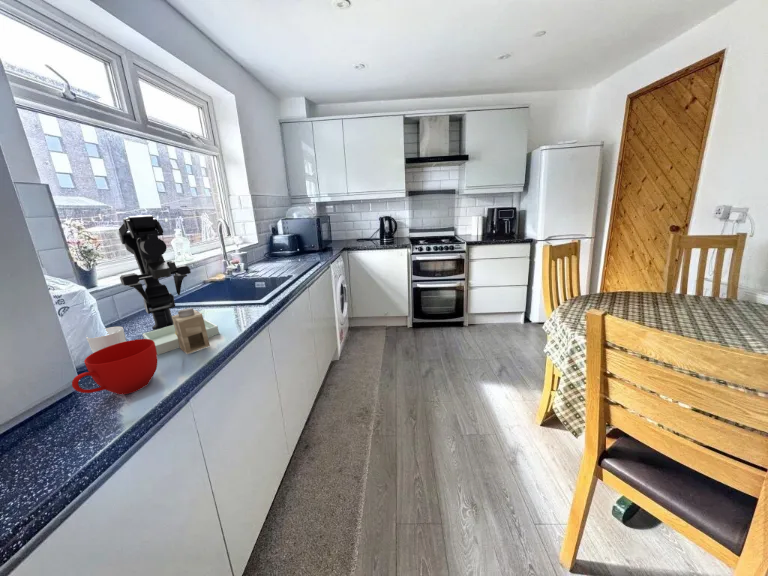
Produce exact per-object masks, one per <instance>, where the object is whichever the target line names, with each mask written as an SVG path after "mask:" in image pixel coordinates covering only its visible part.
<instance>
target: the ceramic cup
mask: <svg viewBox="0 0 768 576" xmlns="http://www.w3.org/2000/svg"><path fill="white" fill-rule="evenodd" d="M84 364H85V368H86V369H87V371H86V372H82V373H80V374H78V375H76V376H75V377H74V378H73V379H72V381H71V386H72V388H73V389H74V390H75V391H77V392H78V393H81V394H90V393H98V392H101V391H104V390H106V391H108V392H110V393H113V394H116V395H118V396H119V395H123V396H124V395H129V394H132V393H134V392H138V391H139V390H142V389H143V388H145V387H146V386H148V385H149V383H150V381H151V380H152V379H153V377H154V375H155V372H156V370H157V368H158V355H157V352H156V346H155V343H154V341H153V340H150V339H144V338H140V339H139V338H138V339H132V340H126V342H122V343H118V344H115V345H111V346H108V347H106V348H103V349H101V350H99V351H96V352H94V353H93V352H92V353H90V354H89V355H88V356H87V357H86V358H85V359H84ZM86 376H89V377H91V378H92V380H93V381H94V382H95V384H97V385H98V386H99V387H95V388H91V389H90V388H89V389H85V388H82V387H80V385H79V383H80V382H79V381H80V380H81V379H82V378H85V377H86Z"/></svg>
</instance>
